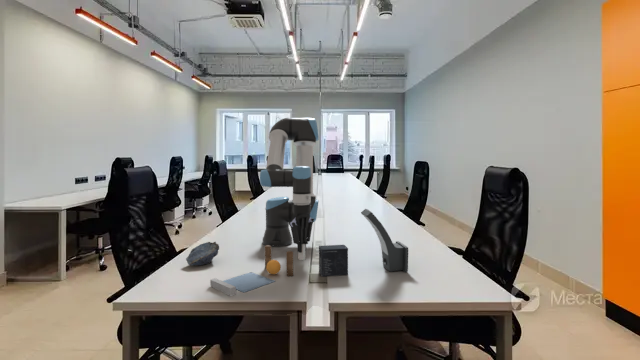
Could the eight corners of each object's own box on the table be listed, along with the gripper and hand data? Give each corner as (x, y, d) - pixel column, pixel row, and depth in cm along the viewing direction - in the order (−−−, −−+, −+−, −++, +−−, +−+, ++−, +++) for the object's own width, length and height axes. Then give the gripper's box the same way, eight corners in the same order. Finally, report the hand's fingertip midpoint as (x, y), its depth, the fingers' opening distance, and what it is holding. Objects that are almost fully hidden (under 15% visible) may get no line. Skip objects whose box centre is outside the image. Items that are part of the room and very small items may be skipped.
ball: (265, 275, 140) (261, 264, 138) (275, 266, 144) (271, 255, 142) (275, 279, 137) (271, 267, 135) (285, 270, 140) (281, 258, 138)
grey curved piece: (358, 266, 150) (359, 207, 148) (398, 263, 152) (399, 206, 150) (366, 275, 139) (367, 212, 137) (408, 272, 142) (410, 211, 140)
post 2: (285, 275, 138) (284, 252, 137) (289, 273, 140) (289, 250, 139) (289, 276, 136) (289, 253, 136) (294, 275, 138) (294, 252, 138)
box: (344, 269, 145) (344, 244, 144) (348, 275, 139) (348, 248, 138) (318, 271, 143) (318, 245, 142) (321, 276, 137) (321, 249, 136)
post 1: (263, 268, 146) (263, 246, 146) (268, 266, 148) (268, 244, 148) (267, 269, 145) (267, 247, 144) (272, 267, 147) (272, 246, 146)
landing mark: (220, 282, 131) (220, 281, 131) (251, 272, 141) (251, 272, 141) (243, 292, 121) (243, 292, 121) (275, 281, 132) (275, 280, 132)
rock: (226, 259, 158) (210, 251, 163) (223, 244, 154) (207, 237, 159) (197, 281, 146) (181, 271, 151) (193, 265, 142) (177, 256, 147)
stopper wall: (210, 286, 127) (210, 279, 126) (215, 284, 128) (215, 278, 128) (230, 295, 119) (230, 288, 118) (235, 294, 120) (235, 286, 120)
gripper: (297, 206, 143) (297, 264, 145) (319, 202, 152) (318, 257, 154) (284, 204, 148) (284, 261, 150) (306, 201, 157) (306, 254, 159)
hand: (301, 259), depth 152 cm, fingers closed
